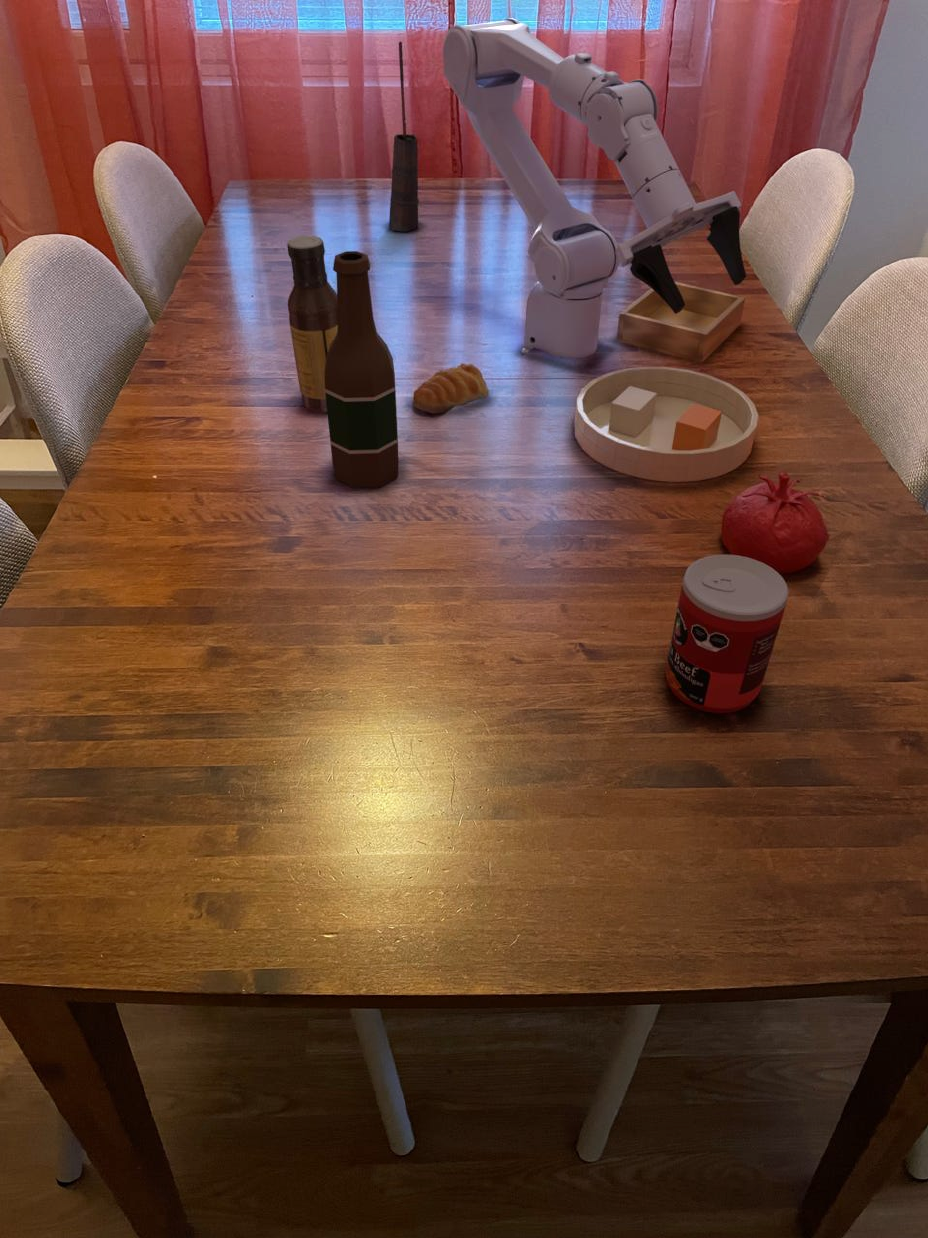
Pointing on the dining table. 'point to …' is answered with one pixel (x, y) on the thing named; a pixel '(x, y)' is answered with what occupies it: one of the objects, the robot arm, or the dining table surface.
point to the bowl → (665, 424)
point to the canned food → (724, 632)
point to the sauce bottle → (311, 318)
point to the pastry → (450, 389)
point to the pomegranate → (775, 525)
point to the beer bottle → (360, 384)
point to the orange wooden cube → (696, 428)
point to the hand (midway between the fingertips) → (710, 295)
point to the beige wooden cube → (632, 411)
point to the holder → (681, 322)
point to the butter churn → (404, 174)
